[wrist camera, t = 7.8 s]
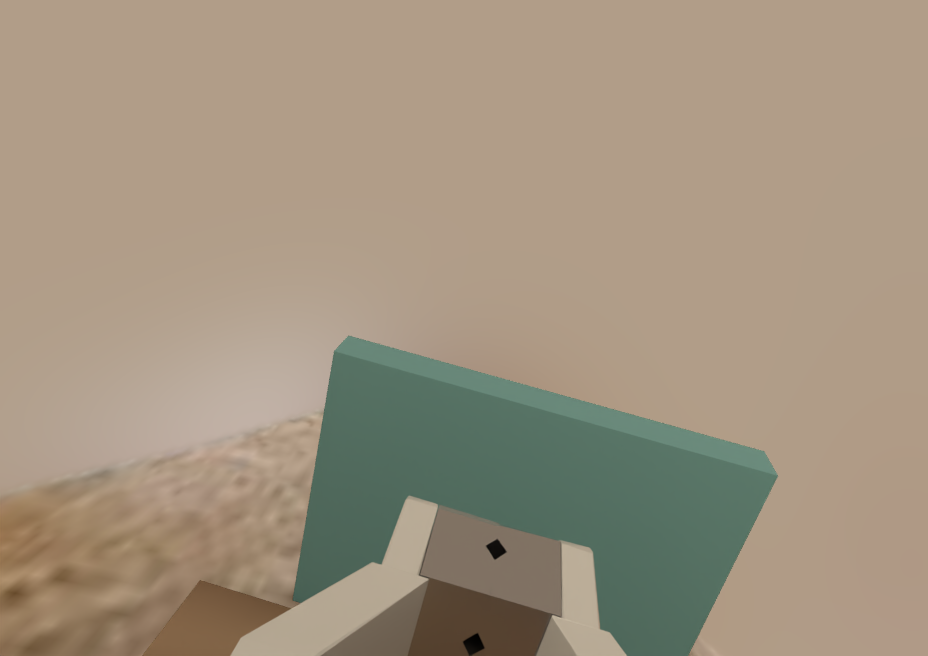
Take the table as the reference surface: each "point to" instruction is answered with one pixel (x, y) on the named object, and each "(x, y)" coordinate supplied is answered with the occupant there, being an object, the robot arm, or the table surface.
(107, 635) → the table surface
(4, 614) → the table surface
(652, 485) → the teal rectangular block
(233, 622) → the brown wooden block
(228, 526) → the table surface
